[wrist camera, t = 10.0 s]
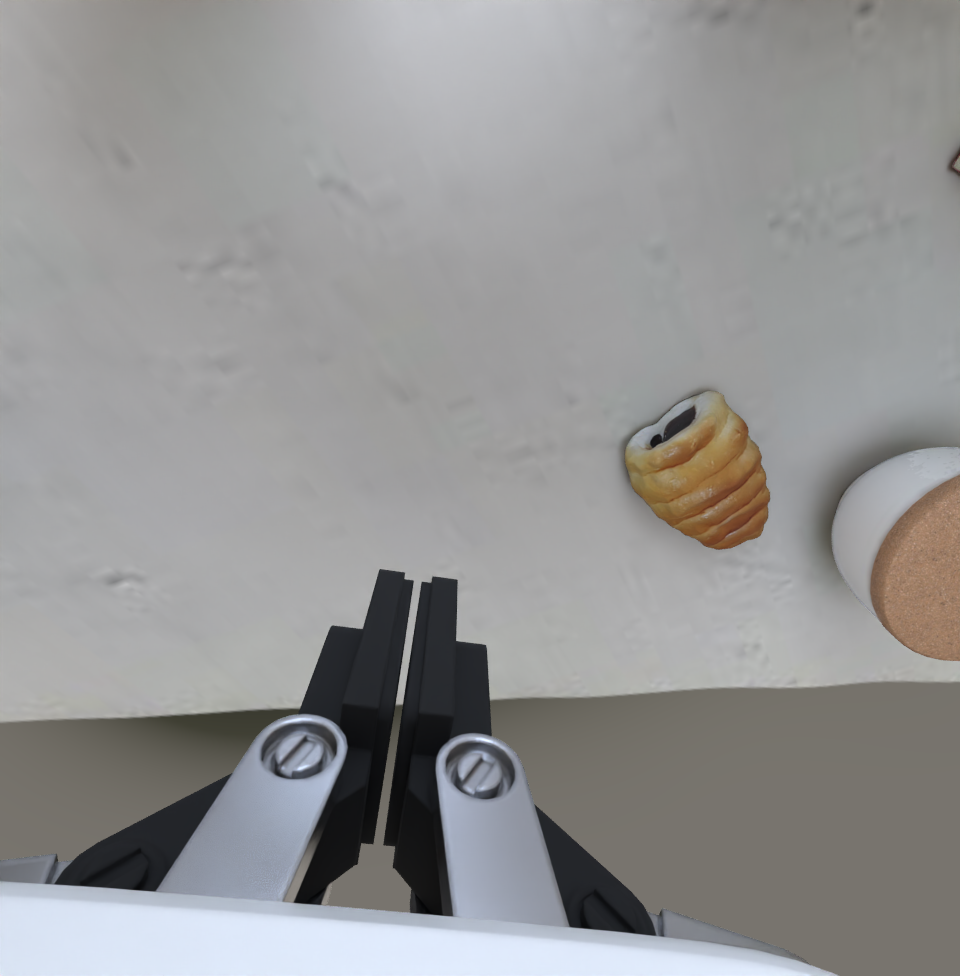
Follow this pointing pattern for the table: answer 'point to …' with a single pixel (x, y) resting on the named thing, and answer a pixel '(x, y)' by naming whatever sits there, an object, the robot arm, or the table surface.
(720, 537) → the pastry
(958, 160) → the gift box
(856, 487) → the trinket box
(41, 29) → the table surface
